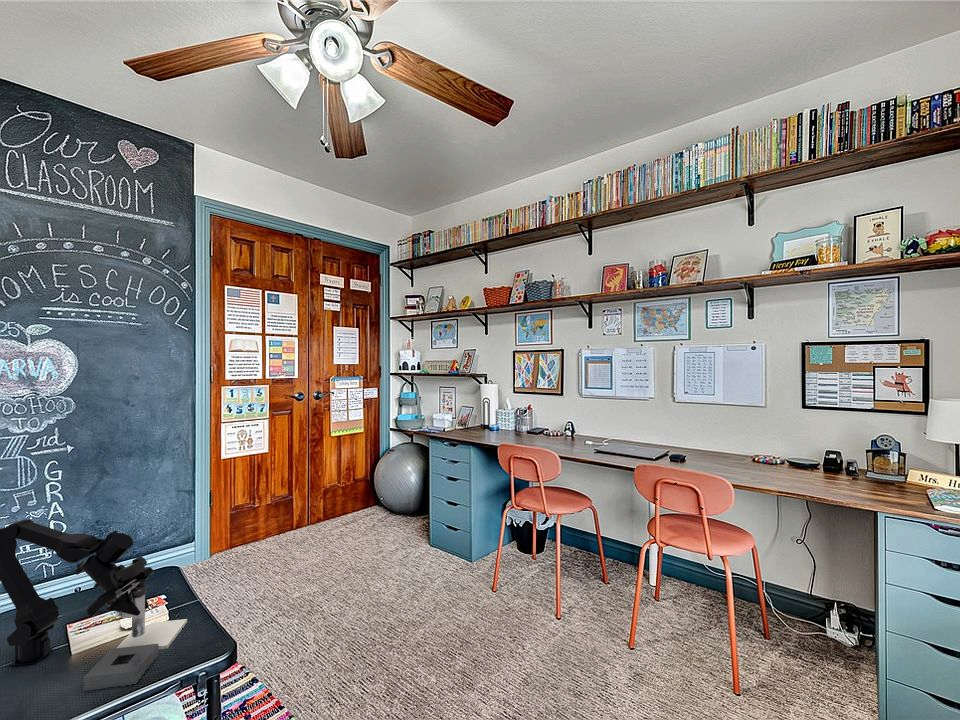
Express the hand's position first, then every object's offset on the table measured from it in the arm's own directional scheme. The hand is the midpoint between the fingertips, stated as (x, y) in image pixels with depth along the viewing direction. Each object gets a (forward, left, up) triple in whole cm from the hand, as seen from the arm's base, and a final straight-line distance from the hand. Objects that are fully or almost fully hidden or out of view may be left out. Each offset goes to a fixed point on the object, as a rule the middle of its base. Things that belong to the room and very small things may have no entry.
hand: (143, 611), depth 131 cm
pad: (-2, +10, -13) cm, 17 cm away
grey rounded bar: (-18, +27, -14) cm, 35 cm away
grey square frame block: (-2, -6, -13) cm, 15 cm away
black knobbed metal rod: (-1, 0, -7) cm, 7 cm away
